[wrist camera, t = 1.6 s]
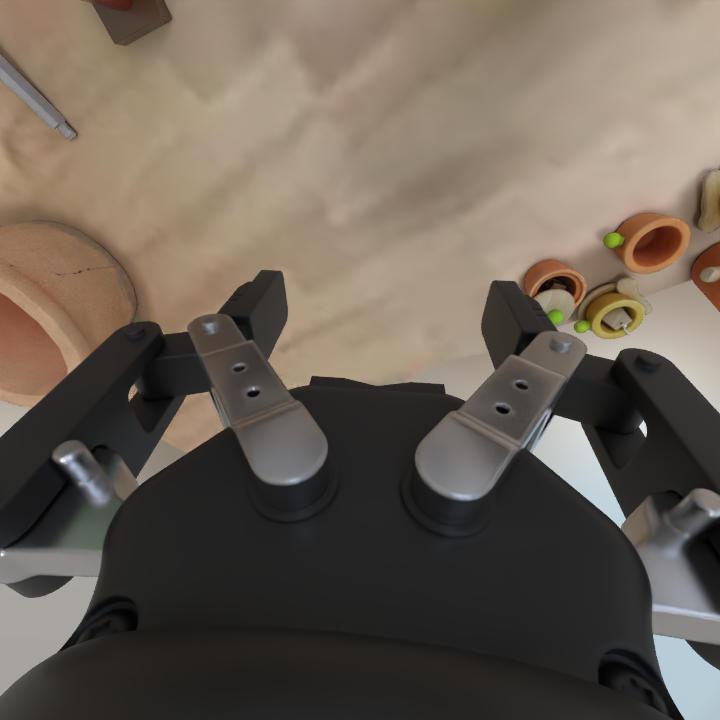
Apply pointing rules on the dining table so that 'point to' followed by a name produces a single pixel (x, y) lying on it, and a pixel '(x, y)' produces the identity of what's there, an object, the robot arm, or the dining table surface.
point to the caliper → (34, 99)
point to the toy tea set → (640, 255)
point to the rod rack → (131, 17)
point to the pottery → (54, 306)
